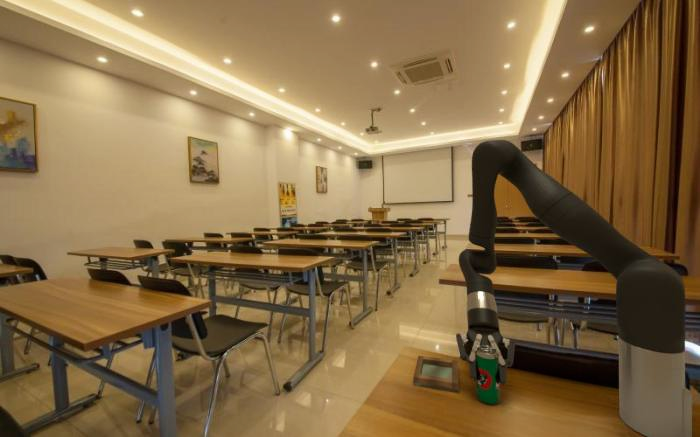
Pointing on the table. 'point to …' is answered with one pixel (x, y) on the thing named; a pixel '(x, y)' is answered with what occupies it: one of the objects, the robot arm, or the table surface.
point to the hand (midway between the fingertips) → (488, 382)
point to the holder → (437, 373)
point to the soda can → (487, 374)
